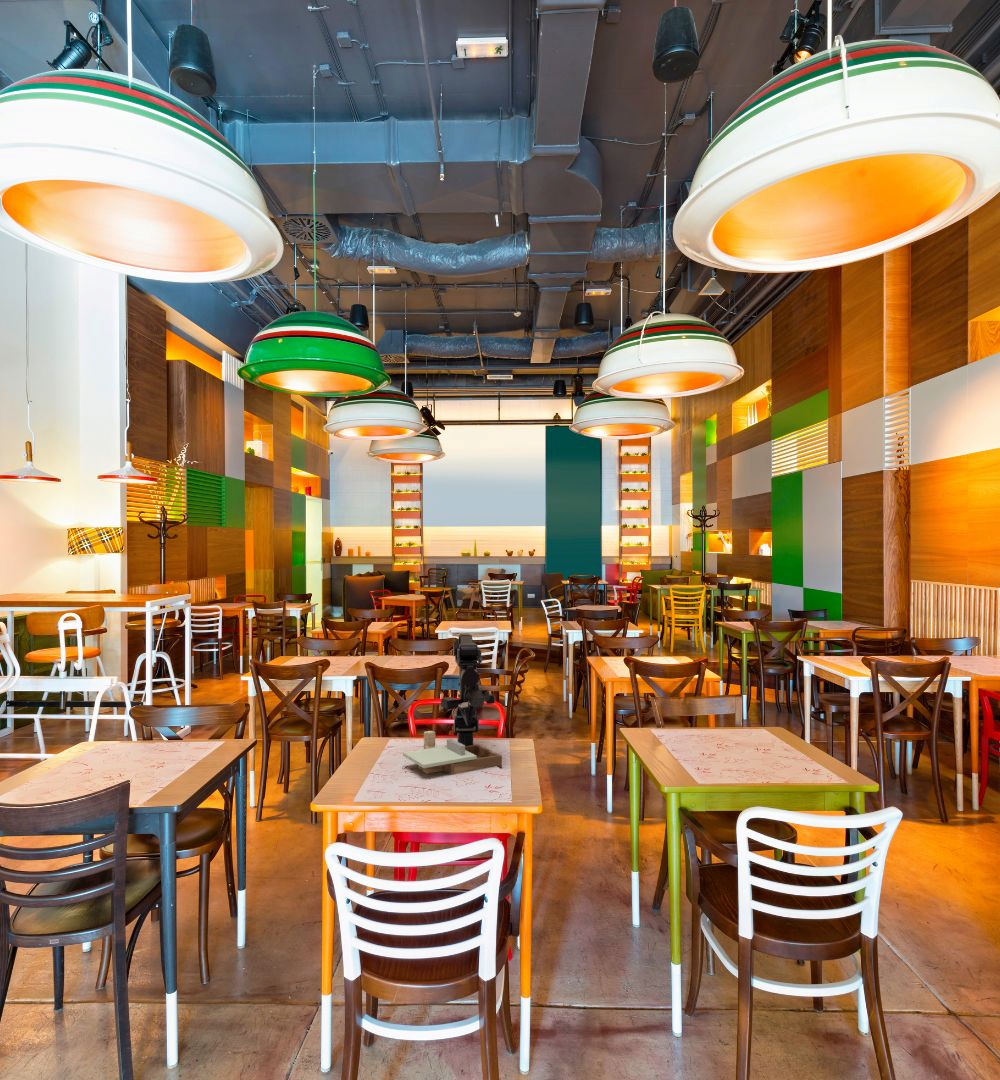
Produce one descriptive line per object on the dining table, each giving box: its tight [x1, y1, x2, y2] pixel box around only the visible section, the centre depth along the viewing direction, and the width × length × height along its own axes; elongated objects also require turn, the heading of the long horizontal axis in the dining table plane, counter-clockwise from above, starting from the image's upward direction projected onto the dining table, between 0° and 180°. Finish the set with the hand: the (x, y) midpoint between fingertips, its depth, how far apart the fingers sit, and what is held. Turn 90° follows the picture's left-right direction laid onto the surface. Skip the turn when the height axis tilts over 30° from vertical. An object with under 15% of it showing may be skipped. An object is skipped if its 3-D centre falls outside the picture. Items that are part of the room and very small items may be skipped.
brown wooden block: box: [423, 730, 436, 749], centre depth 231 cm, size 3×3×9 cm
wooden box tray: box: [417, 744, 503, 776], centre depth 220 cm, size 16×25×4 cm, turn 122°
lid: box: [402, 738, 477, 768], centre depth 216 cm, size 16×19×4 cm
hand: (468, 725), depth 229 cm, fingers closed
